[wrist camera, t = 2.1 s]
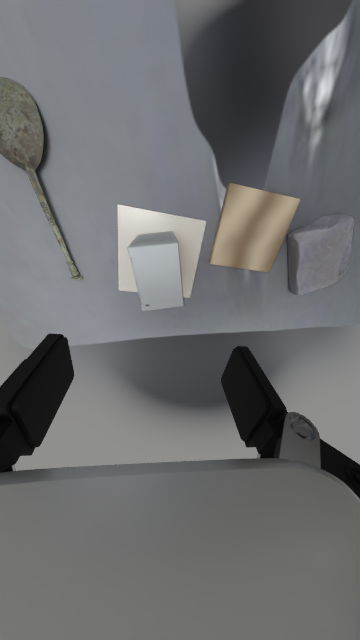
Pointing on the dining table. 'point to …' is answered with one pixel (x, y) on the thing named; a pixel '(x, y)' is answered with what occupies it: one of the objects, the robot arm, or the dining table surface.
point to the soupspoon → (26, 144)
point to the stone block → (319, 253)
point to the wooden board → (251, 228)
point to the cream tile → (154, 222)
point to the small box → (157, 270)
